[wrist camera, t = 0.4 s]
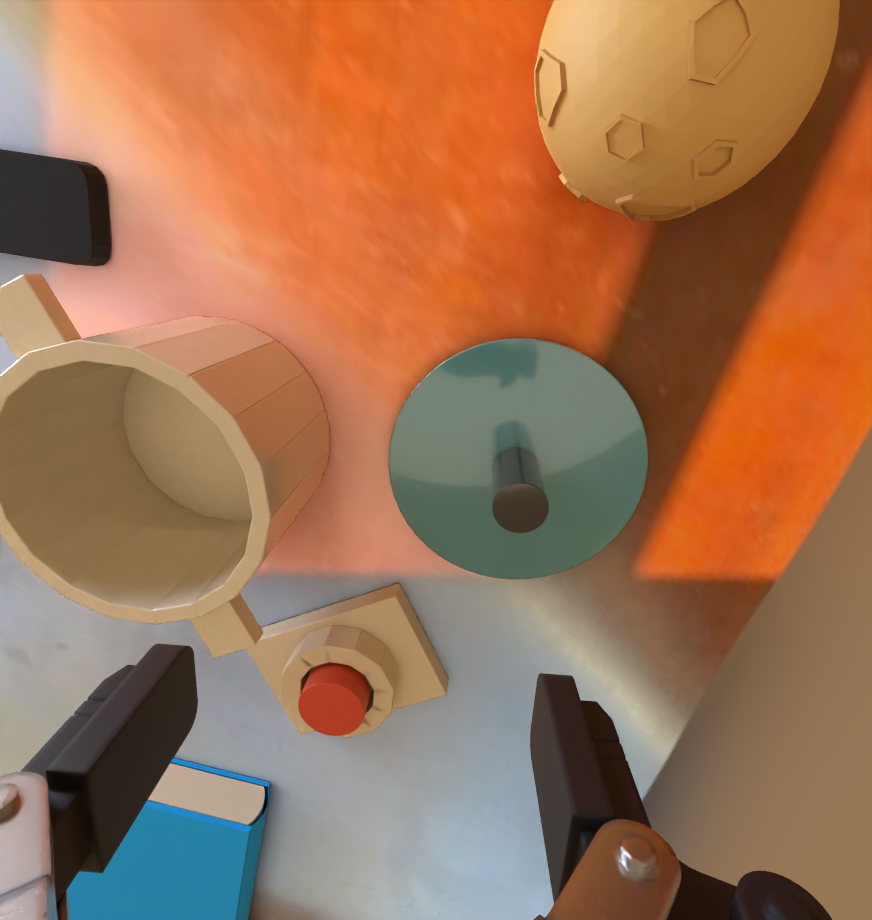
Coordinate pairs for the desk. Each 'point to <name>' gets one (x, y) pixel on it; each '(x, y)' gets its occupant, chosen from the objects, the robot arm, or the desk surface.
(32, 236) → the remote control
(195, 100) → the desk surface
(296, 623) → the button box
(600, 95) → the stress ball
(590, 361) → the lid
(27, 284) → the pot
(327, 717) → the button
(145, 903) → the book
